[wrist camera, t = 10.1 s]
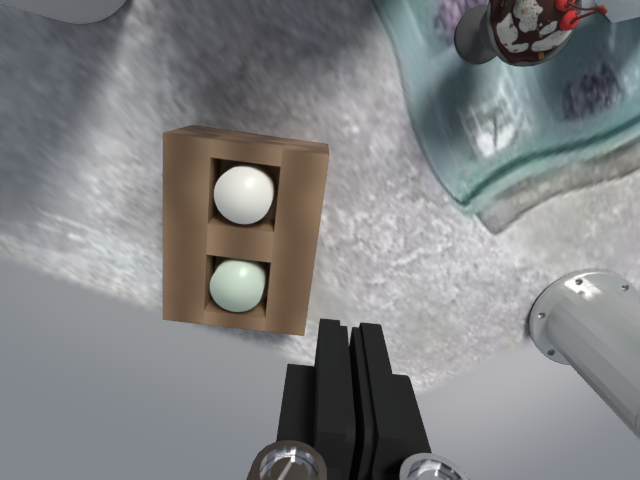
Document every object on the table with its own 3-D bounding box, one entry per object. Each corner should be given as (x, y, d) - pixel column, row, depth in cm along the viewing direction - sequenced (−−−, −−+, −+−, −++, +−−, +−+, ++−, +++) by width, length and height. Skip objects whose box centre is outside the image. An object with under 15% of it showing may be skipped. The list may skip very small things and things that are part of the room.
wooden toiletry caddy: (327, 144, 42) (329, 155, 34) (306, 297, 48) (304, 336, 40) (191, 125, 41) (162, 132, 34) (187, 283, 47) (162, 319, 40)
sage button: (269, 252, 41) (264, 267, 38) (265, 295, 43) (260, 314, 39) (220, 246, 41) (210, 261, 37) (218, 289, 43) (208, 308, 39)
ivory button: (278, 164, 38) (273, 172, 35) (273, 214, 40) (268, 227, 36) (225, 157, 38) (215, 164, 34) (222, 208, 40) (212, 220, 36)
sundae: (523, 56, 39) (638, 36, 25) (455, 83, 40) (529, 77, 26) (509, -18, 37) (626, -86, 23) (437, 12, 38) (507, -37, 24)
